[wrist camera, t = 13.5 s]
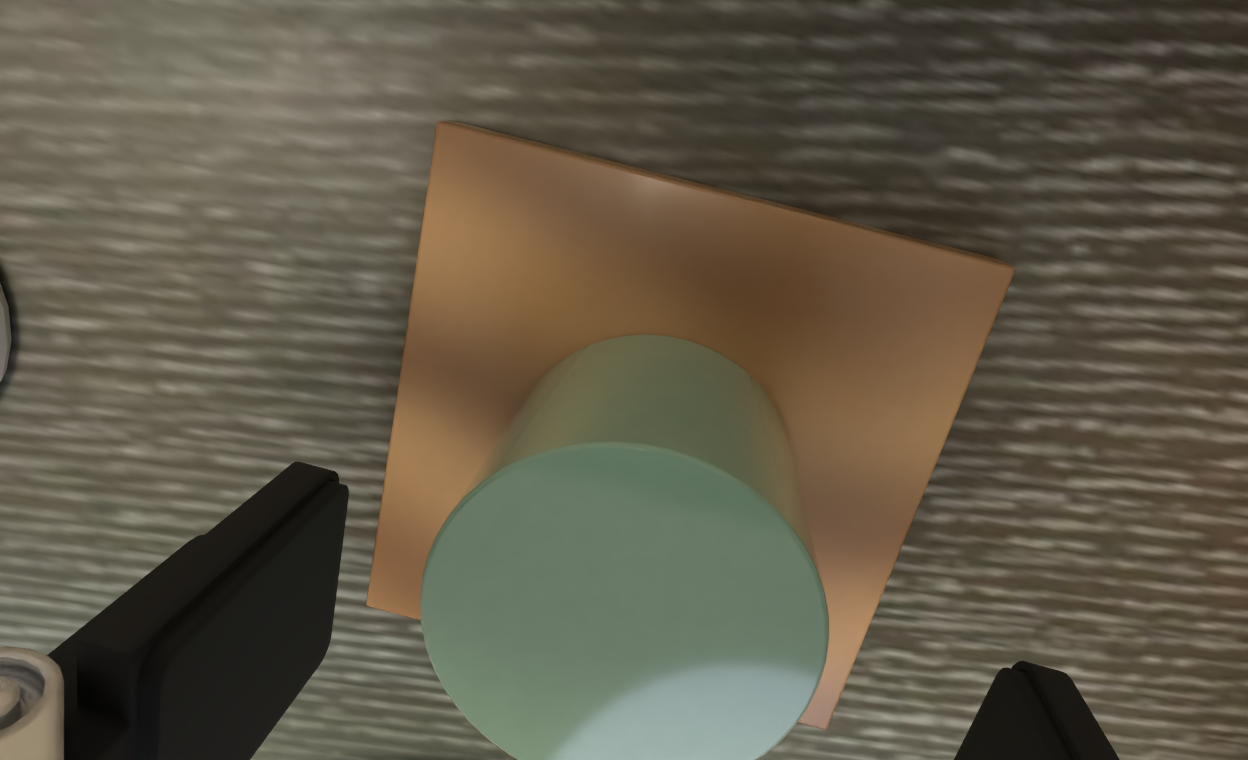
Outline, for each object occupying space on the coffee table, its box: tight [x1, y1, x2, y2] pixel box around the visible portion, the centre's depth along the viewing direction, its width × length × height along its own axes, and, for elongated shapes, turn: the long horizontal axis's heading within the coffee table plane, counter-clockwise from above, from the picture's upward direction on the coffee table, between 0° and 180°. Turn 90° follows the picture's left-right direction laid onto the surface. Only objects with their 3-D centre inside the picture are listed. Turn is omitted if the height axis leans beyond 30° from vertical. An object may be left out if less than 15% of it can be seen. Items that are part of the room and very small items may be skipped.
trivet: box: [366, 121, 1015, 729], centre depth 18 cm, size 12×12×1 cm
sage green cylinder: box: [420, 334, 829, 760], centre depth 15 cm, size 6×6×6 cm
